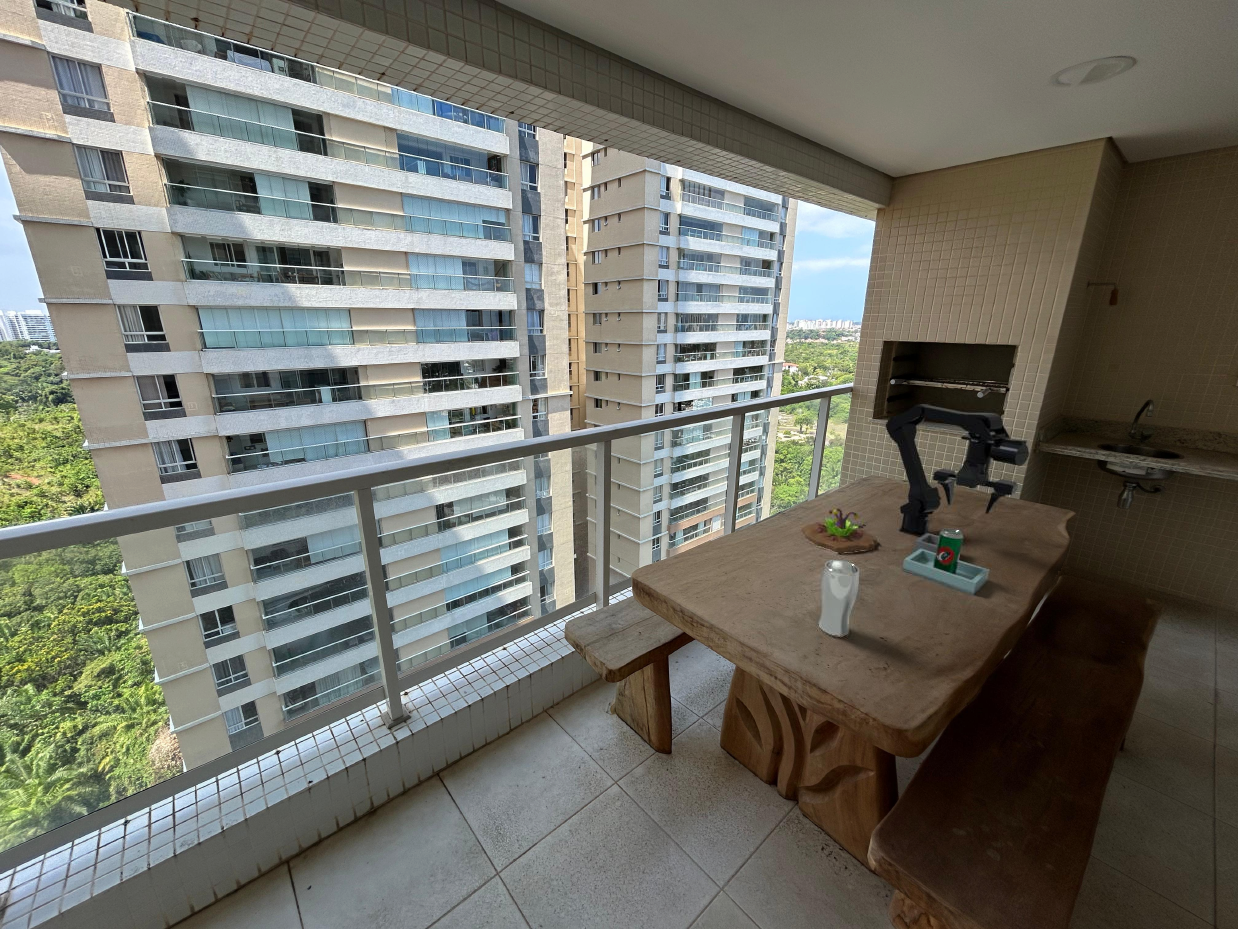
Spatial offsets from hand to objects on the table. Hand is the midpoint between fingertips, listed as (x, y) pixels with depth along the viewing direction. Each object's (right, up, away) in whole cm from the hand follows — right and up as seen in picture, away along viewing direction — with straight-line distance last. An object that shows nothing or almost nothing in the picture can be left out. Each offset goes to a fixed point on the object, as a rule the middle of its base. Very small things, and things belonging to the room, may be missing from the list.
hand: (967, 509), depth 133 cm
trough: (-16, -17, -12) cm, 26 cm away
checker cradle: (-9, -13, 0) cm, 16 cm away
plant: (-34, -11, +11) cm, 37 cm away
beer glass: (-56, -23, -34) cm, 69 cm away
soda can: (-16, -16, -12) cm, 25 cm away
